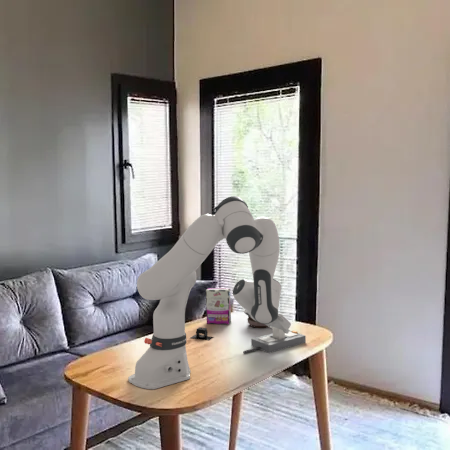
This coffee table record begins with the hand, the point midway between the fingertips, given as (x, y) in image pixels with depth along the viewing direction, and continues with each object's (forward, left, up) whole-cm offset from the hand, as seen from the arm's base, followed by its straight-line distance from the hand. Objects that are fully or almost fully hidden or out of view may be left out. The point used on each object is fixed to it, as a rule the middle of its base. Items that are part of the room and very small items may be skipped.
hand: (279, 329), depth 217 cm
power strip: (-4, +1, -6) cm, 8 cm away
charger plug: (0, 0, -6) cm, 6 cm away
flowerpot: (+17, +23, -7) cm, 30 cm away
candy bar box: (+8, +41, -7) cm, 43 cm away
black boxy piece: (-14, +32, -7) cm, 35 cm away
